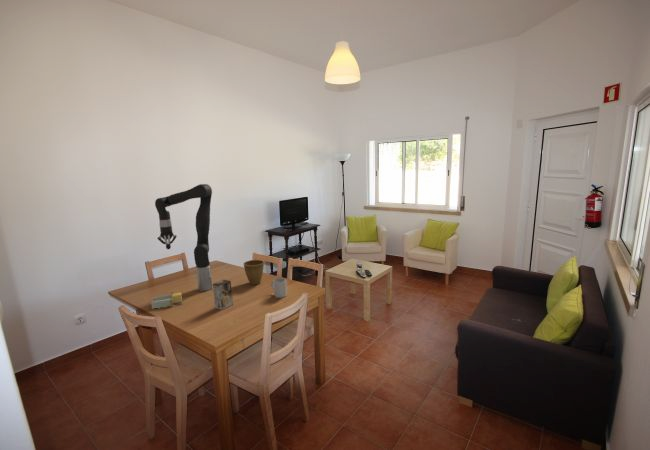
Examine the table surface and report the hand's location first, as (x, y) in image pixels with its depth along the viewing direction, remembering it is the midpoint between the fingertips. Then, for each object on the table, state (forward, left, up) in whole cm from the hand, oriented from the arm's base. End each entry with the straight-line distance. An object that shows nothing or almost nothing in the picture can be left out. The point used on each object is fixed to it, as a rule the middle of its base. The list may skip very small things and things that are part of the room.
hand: (168, 249), depth 227 cm
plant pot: (-57, +18, -29) cm, 67 cm away
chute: (+2, +31, -29) cm, 42 cm away
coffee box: (-32, +50, -29) cm, 66 cm away
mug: (-68, +47, -29) cm, 88 cm away
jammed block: (-4, +31, -29) cm, 43 cm away
